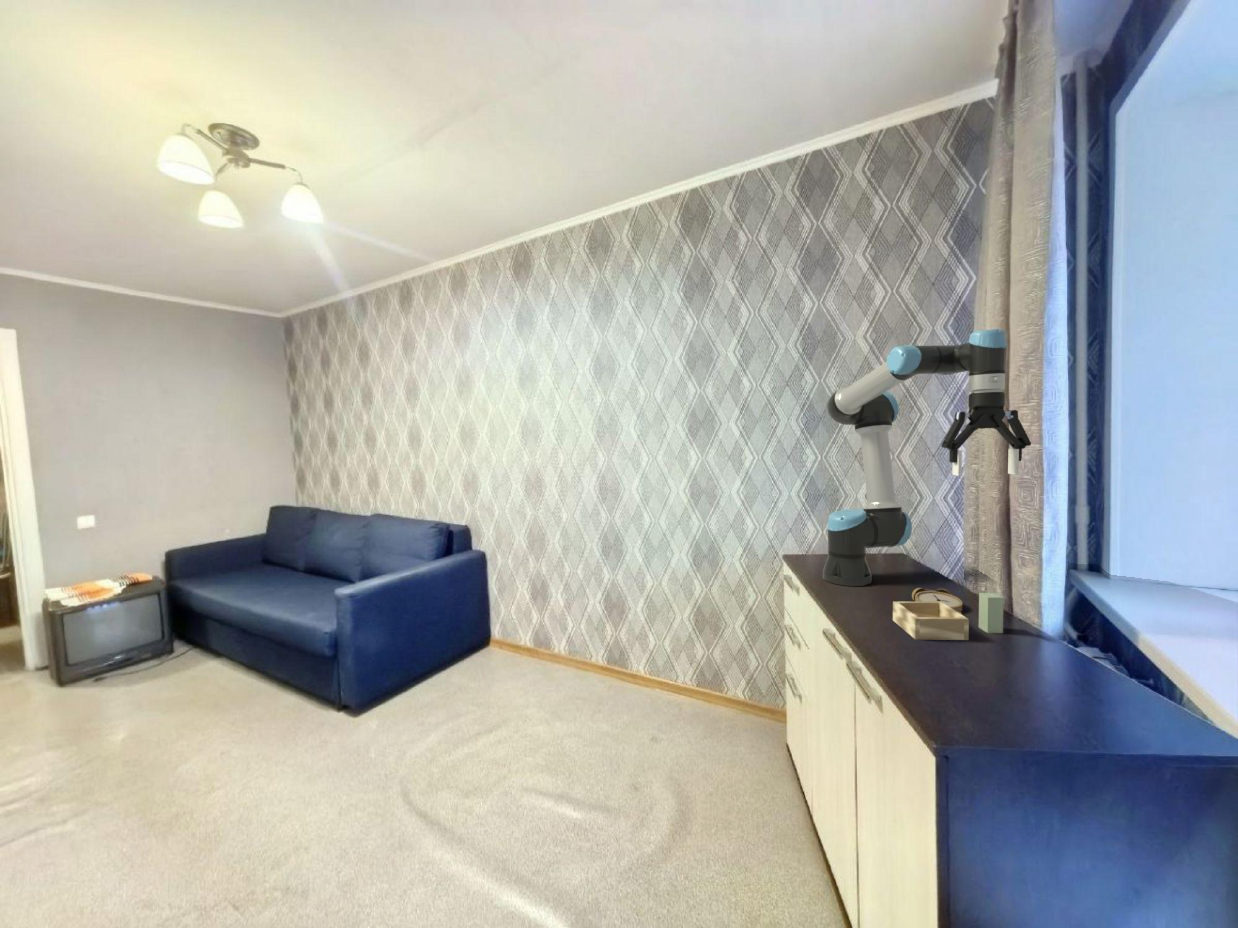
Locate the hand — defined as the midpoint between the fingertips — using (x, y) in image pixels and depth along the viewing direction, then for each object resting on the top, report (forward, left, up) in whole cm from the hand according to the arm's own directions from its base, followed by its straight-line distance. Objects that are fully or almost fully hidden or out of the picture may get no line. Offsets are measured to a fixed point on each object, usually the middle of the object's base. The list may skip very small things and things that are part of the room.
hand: (984, 474), depth 129 cm
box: (+8, -18, -39) cm, 43 cm away
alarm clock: (-10, -7, -39) cm, 41 cm away
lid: (+8, -3, -39) cm, 40 cm away
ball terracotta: (+6, -20, -38) cm, 43 cm away
